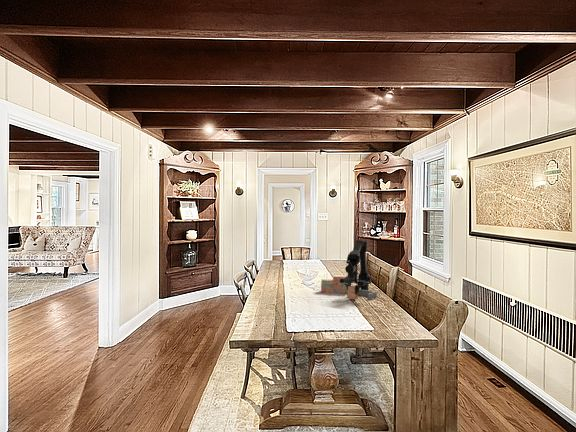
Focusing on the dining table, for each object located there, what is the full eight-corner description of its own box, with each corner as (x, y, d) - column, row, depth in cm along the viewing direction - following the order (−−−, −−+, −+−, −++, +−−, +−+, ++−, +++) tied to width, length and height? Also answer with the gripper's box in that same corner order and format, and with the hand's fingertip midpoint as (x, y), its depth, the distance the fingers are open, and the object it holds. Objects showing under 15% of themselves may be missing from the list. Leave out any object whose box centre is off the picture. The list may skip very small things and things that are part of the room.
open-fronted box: (355, 294, 332) (355, 288, 331) (376, 297, 321) (376, 291, 321) (347, 296, 323) (347, 290, 323) (368, 299, 312) (368, 294, 312)
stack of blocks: (321, 292, 336) (321, 276, 336) (321, 291, 342) (321, 274, 342) (350, 293, 335) (350, 276, 334) (349, 292, 341) (350, 275, 341)
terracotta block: (351, 297, 316) (351, 285, 316) (357, 298, 313) (358, 286, 312) (347, 298, 312) (347, 286, 312) (353, 299, 309) (354, 287, 309)
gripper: (335, 271, 312) (334, 294, 312) (359, 274, 300) (358, 298, 300) (344, 269, 320) (343, 292, 321) (367, 272, 308) (367, 295, 309)
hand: (352, 294), depth 312 cm, fingers closed on terracotta block, 5 cm apart
